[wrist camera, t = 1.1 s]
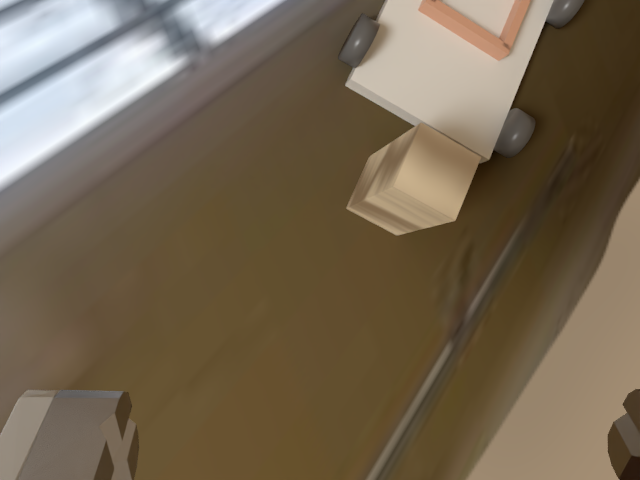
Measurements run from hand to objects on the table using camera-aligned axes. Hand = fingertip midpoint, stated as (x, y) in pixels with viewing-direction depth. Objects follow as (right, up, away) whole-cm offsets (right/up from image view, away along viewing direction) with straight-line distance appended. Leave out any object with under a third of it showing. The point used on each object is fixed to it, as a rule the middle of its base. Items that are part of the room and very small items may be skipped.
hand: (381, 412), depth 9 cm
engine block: (+4, +7, +39) cm, 40 cm away
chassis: (+11, +22, +43) cm, 49 cm away
